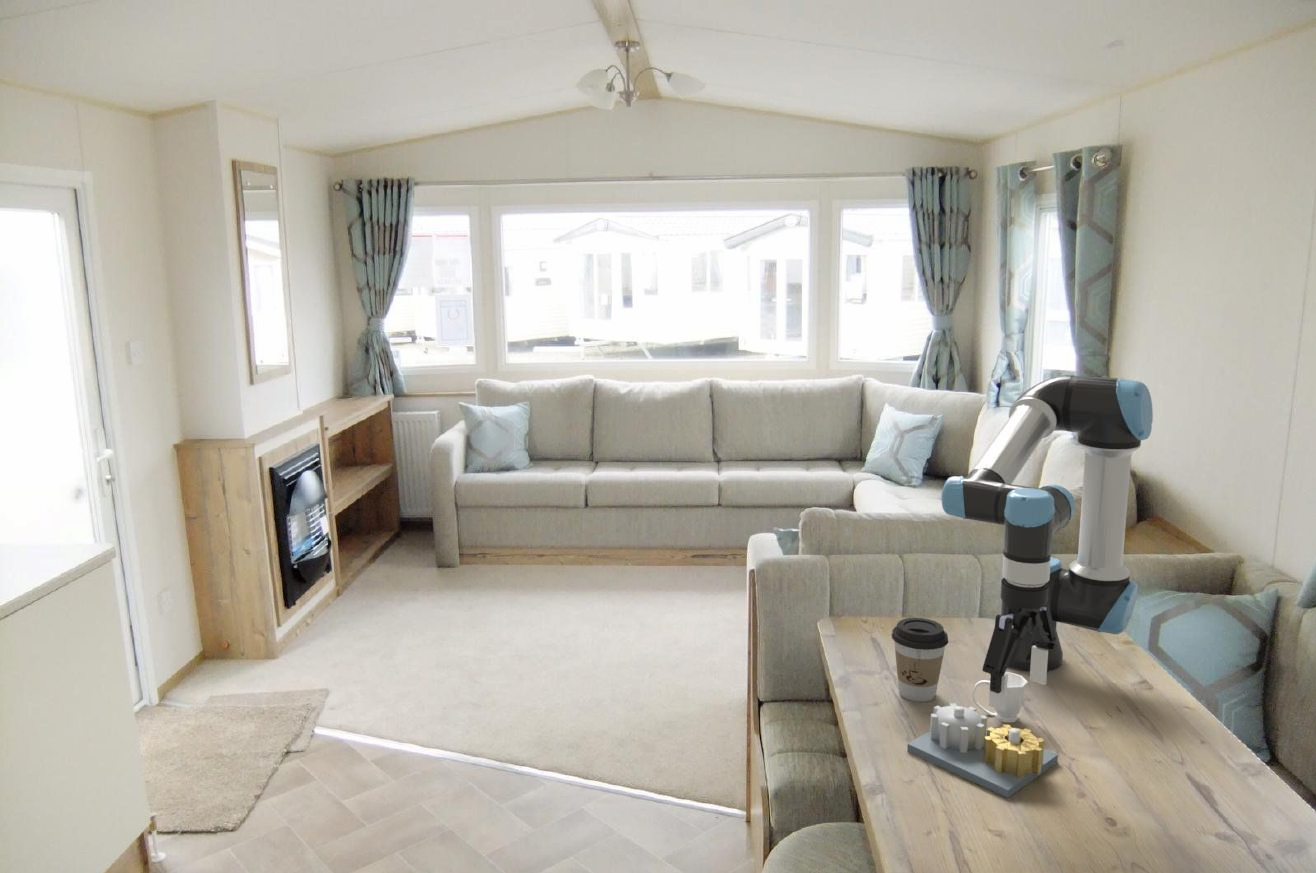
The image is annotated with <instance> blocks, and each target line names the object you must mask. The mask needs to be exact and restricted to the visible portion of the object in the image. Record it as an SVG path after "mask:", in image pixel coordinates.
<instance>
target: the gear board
mask: <svg viewBox="0 0 1316 873" xmlns="http://www.w3.org/2000/svg"><path fill="white" fill-rule="evenodd" d="M929 721H930V723H929V731H926V732H925V733H924V734H922V735H920V736H918V737H917V738H915V739H913V740H911V741H910V742H908V743H907V752H908V753H911V754H912V755H914V756H917V757H919V758H921V759H924V760H926V761H927V762H929V763H932V764H934V765H936V766H938V767H941V768H943V769H945V770H946V771H949V772H951V773H953V774H956V775H958V776H960V777H962V778H963V779H966V780H968V781H970V782H972V783H974V784H977V785H978V786H981V787H983V788H985V789H988V790H989V791H992V792H994V793H996V794H998V795H1000V796H1003V797H1005V798H1007V799H1008V798H1010V797H1012V796H1013V795H1014V794H1016V793H1017V792H1019V791H1020V790H1021V789H1023V787H1025V786H1026V785H1029V783H1031V782H1032V781H1033V780H1035V779H1036V778H1038V777H1039V776H1040V775H1041V774H1043V773H1045V772H1046V771H1047V770H1049V769H1051V767H1053V766H1054V765H1056V764H1057V763H1058V762H1059V761H1058V759H1059V754H1057V753H1055V752H1053V751H1050V750H1049V749H1046V748H1044V752H1043V765H1042V766H1041V773H1040V774H1038V775H1036V774H1034V773H1031V774H1025V778H1017V776H1016V774H1010V773H1006V772H1003V773H1001V774H1000V773H998V772H996V771H995V767H994V766H993V765H992V764H991V763H985V762H984V760H983V754H984V738H985V736H987V729H988V728H990V727H991V728H994V729H996V728H995V727H992V726H990V725H988V717H987V716H986V715H985V714H981V715H980V714H979V713H978V712H977V708H975V707H973V706H969V707H965V706H962V705H961V706H960V705H958V704H957V703H949V704H948V705H946V706H940V705H936V706H933V713H931V714H930V720H929ZM1017 729H1018V728H1017ZM1017 729H1010V730H1009V742H1011V743H1015V744H1019V742H1020V731H1019V730H1017Z"/></svg>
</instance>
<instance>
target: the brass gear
mask: <svg viewBox="0 0 1316 873" xmlns="http://www.w3.org/2000/svg"><path fill="white" fill-rule="evenodd" d="M991 727H992V726H990V728H988V729H987V736H985V738H984V754H983V760H984V762H985V763H991V764H992V765H993V766H994V767H995V771H996V772H998V773H1000V774H1001V773H1003V772H1006V773H1010V774H1016V776H1017V778H1025V774H1031V773H1034V774H1036V775H1038V774H1040V773H1041V766H1042V765H1043V752H1044V749H1045V748H1044V747H1045V740H1044V739H1043V738H1042V737H1037V736H1035V735H1034V734H1033V732H1032V730H1031V729H1028V728H1024V729H1021V728H1017V727H1011V724H1002V727H996V728H995V727H993V728H991ZM994 728H995V729H994ZM1010 729H1017V730H1019V731H1020V742H1019V744H1015V743H1011V742H1009V730H1010ZM1040 775H1041V774H1040Z"/></svg>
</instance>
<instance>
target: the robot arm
mask: <svg viewBox="0 0 1316 873" xmlns="http://www.w3.org/2000/svg"><path fill="white" fill-rule="evenodd" d="M1153 413H1154V412H1153V401H1152V397H1151V393H1150V391H1149V388H1148V386H1147V385H1146V384H1145V383H1143V382H1142V381H1138V380H1133V379H1131V380H1130V379H1125V378H1121V377H1120V378H1119V377H1118V378H1117V377H1101V376H1100V377H1098V376H1097V377H1096V376H1084V375H1083V376H1079V375H1078V376H1077V375H1072V374H1071V375H1070V374H1069V375H1068V374H1066V375H1059V376H1054V377H1051V378H1048V379H1046V380H1043V381H1040V382H1038V383H1037V384H1035V385H1033V386H1032V387H1030V388H1028V389H1027V390H1025V391H1024V392H1022V393H1021V395H1019V396H1018V398H1017V399H1016V400H1015V401H1014V403H1013V404H1012V405H1011V407H1010V408H1009V411H1008V419H1007V421H1006V422H1005V423H1004V424H1003V426H1002V428H1001V429H1000V430H999V432H998V433H997V435H996V436H995V437H994V439H993V440H992V442H991V443H990V444H989V446H988V447H987V449H986V450H985V451H984V453H983V454H982V455H981V457H980V458H979V460H978V461H977V462H976V463H975V465H974V467H973V468H972V469H971V470H970V472H969V473H968V475H967V476H966V477H965V476H963V475H960V476H953V475H952V476H950V477H948V478H947V480H946V481H945V482H944V484H943V486H942V487H943V488H942V491H941V506H942V509H943V511H944V513H945V514H946V515H949V516H952V517H958V518H961V519H963V520H970V521H976V522H983V523H988V524H989V523H990V524H995V525H1002V526H1004V527H1003V528H1004V530H1003V533H1004V534H1003V549H1002V550H1003V552H1002V554H1003V555H1002V557H1001V561H1002V568H1001V569H1002V570H1001V572H1002V573H1001V575H1002V579H1001V583H1000V599H1001V611H1000V614H996V616H995V620H994V628H993V632H992V634H991V638H990V642H989V645H988V649H987V653H986V655H985V659H984V661H983V664H982V665H983V666H982V672H985V673H986V674H990V676H989V681H990V685H989V692H988V695H989V696H988V706H989V707H991V708H993V709H994V708H996V709H999V710H1001V711H1005V710H1006V696H1007V679H1008V674H1005V672H1007V669H1008V668H1012V669H1015V670H1019V671H1024V672H1029V681H1031V682H1034V683H1036V684H1040V685H1042V686H1045V685H1046V684H1047V675H1048V672H1051V671H1054V670H1057V669H1059V668H1060V667H1061V666H1062V664H1063V656H1064V653H1063V649H1062V646H1061V642H1060V639H1059V638H1060V637H1059V634H1058V631H1057V624H1058V623H1061V624H1065V625H1069V626H1074V627H1079V628H1082V629H1087V630H1090V631H1096V632H1097V633H1106V634H1111V635H1119V634H1122V633H1123V632H1124V631H1125V630H1126V628H1127V627H1128V625H1129V622H1130V620H1131V618H1132V615H1133V613H1134V608H1135V606H1136V602H1137V598H1138V593H1139V584H1138V583H1137V582H1135V581H1133V580H1130V579H1131V578H1130V577H1131V572H1130V569H1128V568H1127V567H1126V566H1125V565H1124V562H1123V561H1124V548H1125V538H1126V537H1125V536H1126V527H1127V526H1126V524H1127V510H1128V503H1129V502H1128V501H1129V500H1128V499H1129V486H1130V476H1131V464H1132V463H1131V461H1132V454H1134V453H1135V451H1137V450H1138V449H1140V448H1141V443H1142V441H1144V440H1147V439H1148V438H1150V435H1151V432H1152V427H1153V426H1152V424H1153V421H1154V420H1153V418H1154V417H1153V416H1154V415H1153ZM1055 431H1056V432H1057V431H1061V432H1072V433H1077V437H1078V438H1077V443H1078V445H1079V446H1080V448H1082V449H1083V450H1084V462H1083V463H1084V465H1083V477H1082V478H1083V479H1082V489H1081V490H1082V492H1081V506H1080V521H1079V522H1080V523H1079V536H1078V538H1079V539H1078V552H1077V559H1075V560H1073V561H1072V562H1070V564H1069V567H1068V568H1069V569H1068V568H1067V569H1066V568H1063V564H1062V561H1061V560H1060V559H1058V558H1055V557H1053V556H1052V554H1051V553H1052V541H1053V536H1055V534H1056V533H1058V532H1059V531H1060V530H1062V529H1063V528H1065V527H1067V525H1068V524H1069V523H1070V521H1071V520H1072V519H1073V518H1074V515H1075V513H1076V509H1077V504H1076V500H1075V497H1074V496H1073V494H1072V492H1070V491H1069V490H1068V489H1066V488H1065V487H1063V486H1061V485H1057V484H1049V485H1044V486H1041V487H1039V488H1038V487H1033V486H1025V485H1018V484H1013V483H1014V482H1015V481H1016V479H1017V477H1018V476H1019V474H1020V472H1021V471H1022V470H1023V469H1024V466H1025V465H1026V464H1027V462H1028V460H1030V459H1031V456H1032V454H1033V453H1034V451H1035V450H1036V448H1038V446H1039V444H1040V443H1041V441H1042V440H1043V439H1045V438H1047V437H1049V436H1051V435H1052V434H1053V432H1055Z"/></svg>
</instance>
